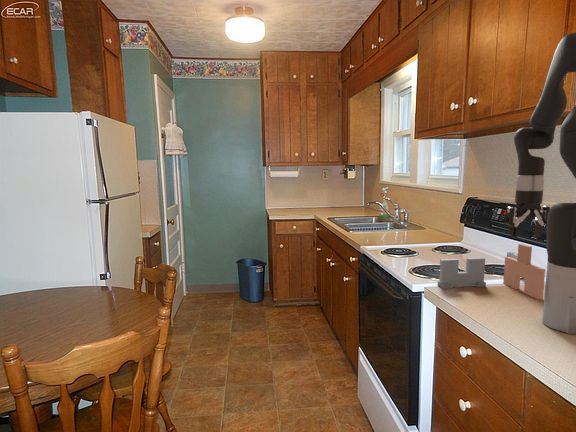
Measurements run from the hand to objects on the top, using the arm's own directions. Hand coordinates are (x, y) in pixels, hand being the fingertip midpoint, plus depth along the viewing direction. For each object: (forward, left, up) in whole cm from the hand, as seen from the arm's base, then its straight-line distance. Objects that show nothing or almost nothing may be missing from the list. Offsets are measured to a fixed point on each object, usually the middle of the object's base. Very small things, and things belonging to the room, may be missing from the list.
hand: (525, 237), depth 119 cm
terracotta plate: (0, 0, -19) cm, 19 cm away
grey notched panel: (+8, +17, -19) cm, 27 cm away
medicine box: (+16, -11, -19) cm, 27 cm away
